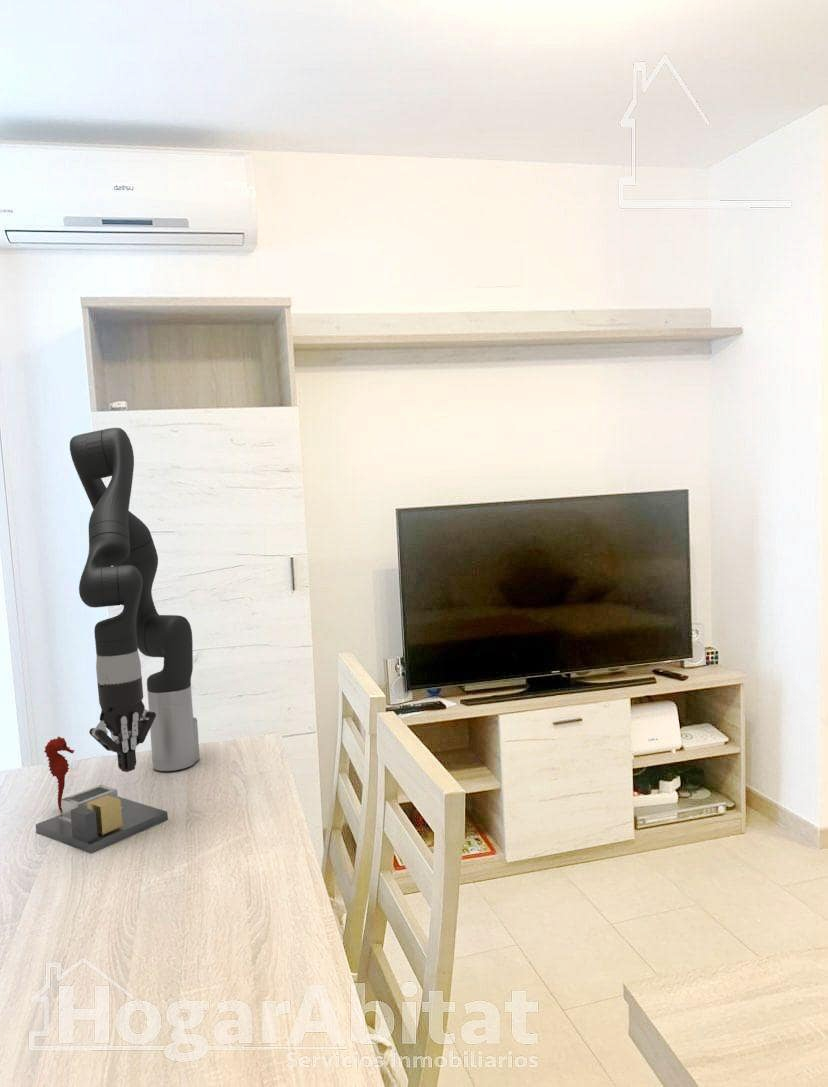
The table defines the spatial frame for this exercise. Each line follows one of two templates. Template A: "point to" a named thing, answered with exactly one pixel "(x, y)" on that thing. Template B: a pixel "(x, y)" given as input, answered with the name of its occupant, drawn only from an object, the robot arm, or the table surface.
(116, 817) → the slider
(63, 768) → the toy
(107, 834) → the press frame
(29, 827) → the table surface
